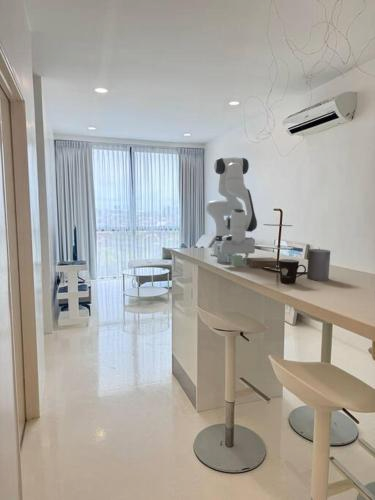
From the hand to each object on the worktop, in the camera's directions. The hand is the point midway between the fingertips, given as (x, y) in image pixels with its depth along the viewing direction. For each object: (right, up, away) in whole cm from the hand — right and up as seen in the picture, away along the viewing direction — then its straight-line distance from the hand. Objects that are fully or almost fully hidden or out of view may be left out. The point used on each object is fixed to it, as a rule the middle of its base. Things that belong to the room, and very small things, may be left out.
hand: (236, 261), depth 198 cm
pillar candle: (+33, -7, -36) cm, 50 cm away
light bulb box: (-5, -1, +15) cm, 16 cm away
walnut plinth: (+15, -3, -1) cm, 16 cm away
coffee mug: (+17, -9, -48) cm, 51 cm away
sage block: (0, -3, 0) cm, 3 cm away
